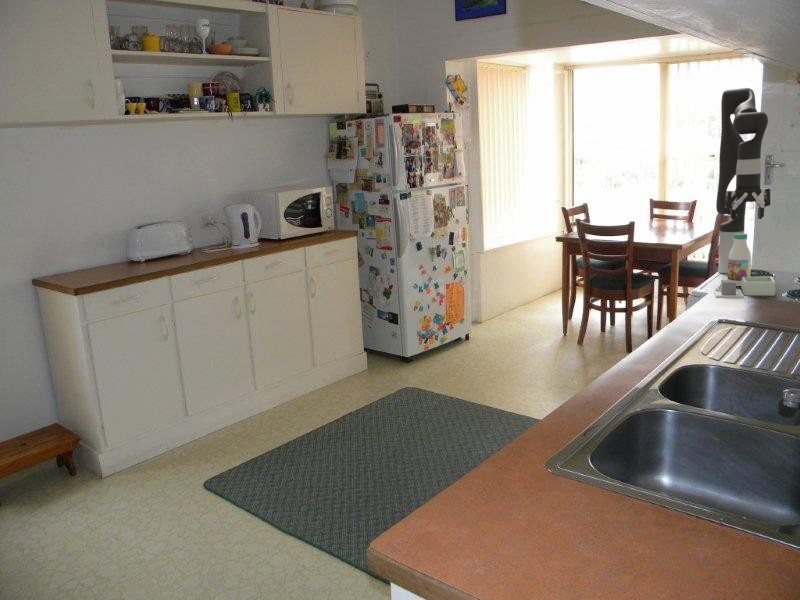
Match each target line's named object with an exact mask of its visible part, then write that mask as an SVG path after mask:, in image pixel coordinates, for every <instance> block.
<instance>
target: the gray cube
mask: <svg viewBox="0 0 800 600" xmlns="http://www.w3.org/2000/svg"><path fill="white" fill-rule="evenodd" d="M720 289H721V295H736V289H737V287H736V282H735V280H728V279H727V280H726V279H725V280H724V279H722V280H720Z"/></svg>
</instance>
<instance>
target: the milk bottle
mask: <svg viewBox="0 0 800 600" xmlns="http://www.w3.org/2000/svg"><path fill="white" fill-rule="evenodd" d="M747 240H748V234H747V233H745V232H744V233H737V234H734V244H733V247H732V249H731V251H730V253H729V259H728V273H727V280H735V282H736V286H742V277H751V272H752V271H751V267H752V256H751V255H752V254H751V250H750V249H749V247H748V242H747Z"/></svg>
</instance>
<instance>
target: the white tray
mask: <svg viewBox="0 0 800 600" xmlns="http://www.w3.org/2000/svg"><path fill="white" fill-rule="evenodd" d="M712 291H713V294H714V297H715V298H716V299H719V298H720V299H721V298H723V299H731V298H733V299H735V298H736V299H738V298H740V299H741V298H742V299H743V298H745V295H744V293H743V292H742V290H741V289H740V288H736V295H721V288H713V289H712Z"/></svg>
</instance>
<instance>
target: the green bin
mask: <svg viewBox="0 0 800 600" xmlns="http://www.w3.org/2000/svg"><path fill="white" fill-rule="evenodd" d="M740 288H741V289H742V290H741V289H740V290H741V291H742V293H743V295H744V296H774V297H775V295H776V281H775V279H774V278H773V277H772V276H750V277H742V286H741V287H740Z"/></svg>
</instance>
